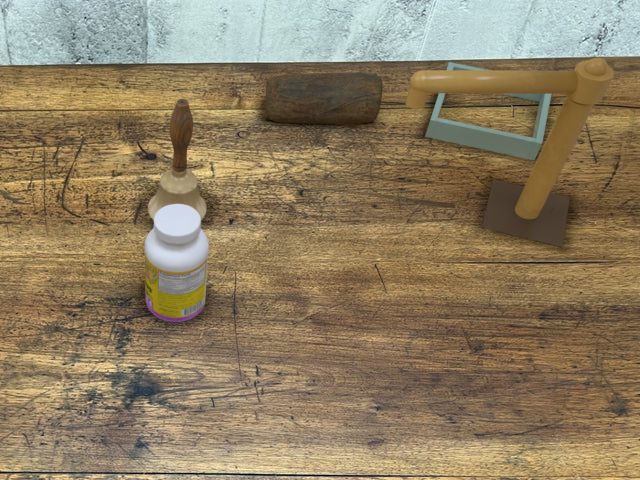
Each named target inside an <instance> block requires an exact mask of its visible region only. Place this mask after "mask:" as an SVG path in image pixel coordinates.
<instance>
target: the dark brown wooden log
mask: <svg viewBox="0 0 640 480" xmlns="http://www.w3.org/2000/svg"><path fill="white" fill-rule="evenodd" d="M383 83H384V82H383V81H382V78H381V76H379V75H378V74H376V73H368V72H311V73H291V74H282V75H277V76H276V75H275V76H273V77H269V78H268V79H267V80H266V83H265V110H264V115H263V116H264V119H265V120H269V121H273V122H275V123H281V124H282V123H283V124H284V123H285V124H304V125H305V124H307V125H308V124H309V125H310V124H311V125H318V124H319V125H323V124H324V125H351V124H352V125H353V124H364V123H365V124H366V123H371V122H374V121H375V120H376V119H377V117H378V115H379V113H380V109H381V105H382V99H383V91H384V87H383V86H384V85H383Z"/></svg>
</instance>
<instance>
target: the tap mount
mask: <svg viewBox="0 0 640 480" xmlns="http://www.w3.org/2000/svg"><path fill="white" fill-rule="evenodd" d="M594 106H595V104H592V105H585V104H580V103H577V102H574V101H572V100H571V99H569V98H568V97H567V96H566V97H565V99H564V100H563V103H562V106H561V107H560V110H559V112H558V114H557V116H556V118H555V121H554V123H553V124H552V127H551V129H550V131H549V133H548V136H547V137H546V139H545V142H544V144H543V146H542V147H541V150H540V152H539V155H538V157H537V159H536V160H535V163H534V166H533V167H532V170H531V172H530V173H529V176H528V178H527V180H526V183H525V185H524V186H523V185H519V184H514V183H510V182H505V181H501V180H496V179H492V180H491V185H490V190H489V193H488V194H489V195H488V199H487V202H486V206H485V209H484V210H485V211H484V214H483V219H482V223H481V229H484V230H489V231H491V232H497V233H500V234H505V235H508V236H513V237H516V238H521V239H525V240H529V241H533V242H538V243H542V244H546V245H550V246H553V247H558V248H563V246H564V240H565V233H566V226H567V220H568V213H569V207H570V206H569V205H570V201H571V197H570V196H567V195H562V194H558V193H553V192H552V190H553V188H554V186H555V184H556V182H557V180H558V178H559V177H560V174H561V173H562V170H563V168H564V166H565V164H566V162H567V161H568V159H569V156H570V154H571V152H572V150H573V148H574V146H575V144H576V142H577V140H578V139H579V136H580V135H581V132H582V130H583V128H584V126H585V124H586V122H587V120H588V118H589V117H590V115H591V112H592V110H593V108H594Z"/></svg>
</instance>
